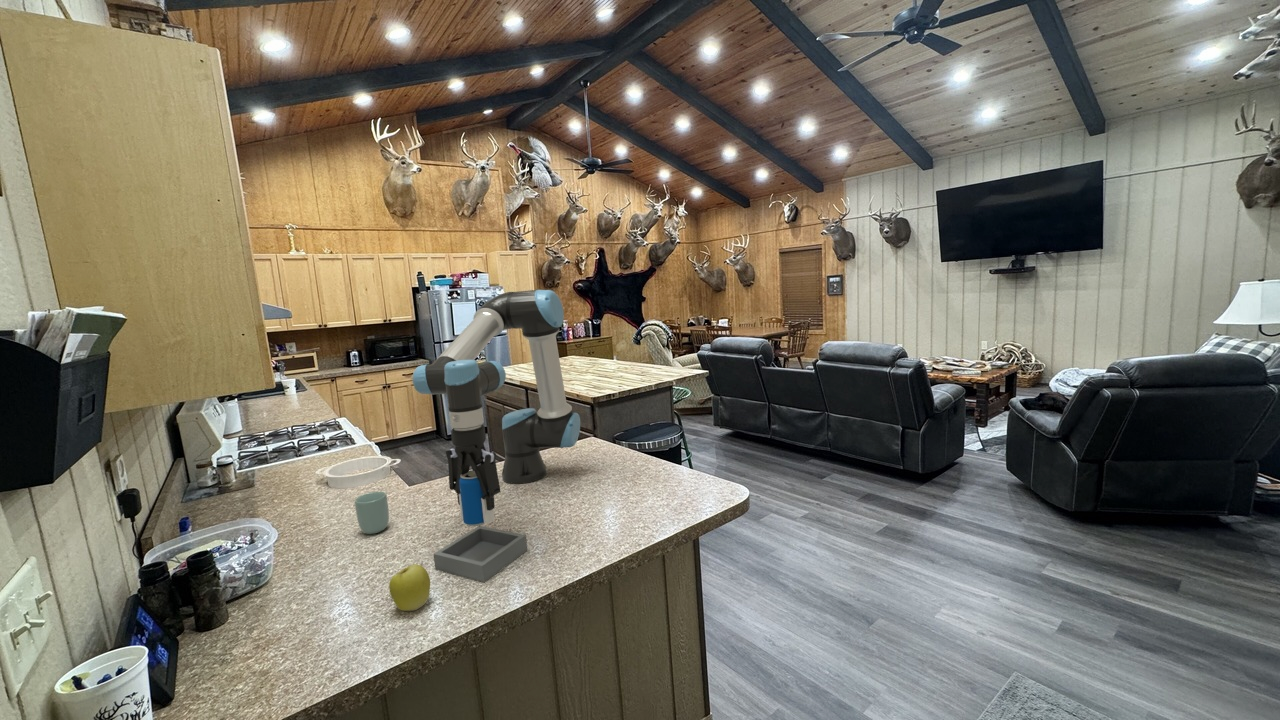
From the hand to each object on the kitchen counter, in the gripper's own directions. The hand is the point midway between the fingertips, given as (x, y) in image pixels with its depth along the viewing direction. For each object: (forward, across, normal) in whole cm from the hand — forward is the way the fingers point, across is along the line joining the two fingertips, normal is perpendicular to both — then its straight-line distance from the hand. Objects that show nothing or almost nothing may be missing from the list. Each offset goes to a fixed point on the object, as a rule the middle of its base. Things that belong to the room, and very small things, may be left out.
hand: (477, 519), depth 125 cm
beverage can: (+1, 0, 0) cm, 1 cm away
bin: (+10, 0, 0) cm, 10 cm away
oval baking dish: (+11, -87, +30) cm, 93 cm away
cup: (+10, -41, +2) cm, 42 cm away
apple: (+11, -1, -20) cm, 22 cm away
